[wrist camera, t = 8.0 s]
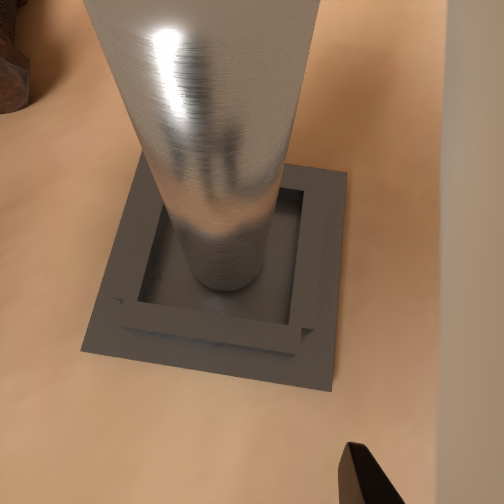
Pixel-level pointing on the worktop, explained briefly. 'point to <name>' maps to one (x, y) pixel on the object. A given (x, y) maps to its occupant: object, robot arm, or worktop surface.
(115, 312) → the block
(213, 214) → the shiny tapered metal piece
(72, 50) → the worktop surface
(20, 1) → the bolt
